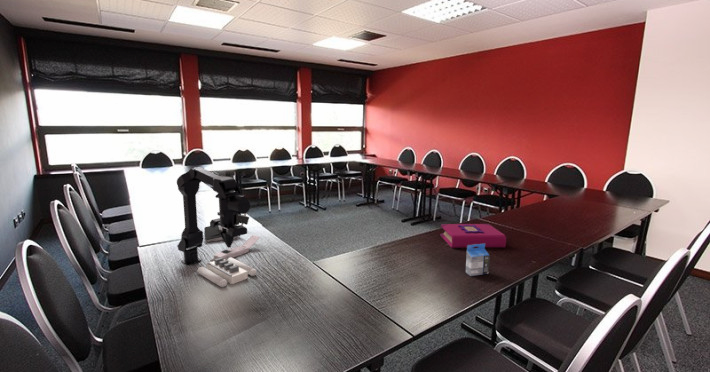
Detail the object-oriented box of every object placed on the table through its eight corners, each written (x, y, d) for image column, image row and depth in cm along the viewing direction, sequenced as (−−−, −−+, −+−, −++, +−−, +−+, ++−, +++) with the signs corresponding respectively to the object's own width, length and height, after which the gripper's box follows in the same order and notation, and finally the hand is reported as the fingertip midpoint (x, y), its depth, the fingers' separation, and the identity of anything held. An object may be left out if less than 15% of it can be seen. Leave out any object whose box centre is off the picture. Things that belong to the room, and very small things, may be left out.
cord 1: (197, 274, 139) (197, 267, 138) (204, 272, 141) (204, 265, 140) (221, 289, 126) (220, 282, 126) (228, 286, 128) (228, 279, 128)
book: (505, 248, 171) (507, 234, 170) (451, 249, 170) (452, 235, 168) (487, 235, 192) (489, 222, 190) (439, 235, 190) (440, 223, 189)
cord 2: (227, 264, 148) (226, 258, 148) (233, 262, 151) (233, 256, 150) (251, 278, 136) (251, 271, 135) (258, 275, 138) (257, 268, 138)
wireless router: (204, 228, 200) (201, 195, 196) (244, 223, 209) (243, 192, 206) (205, 246, 170) (202, 208, 166) (252, 240, 179) (250, 204, 176)
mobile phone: (261, 236, 168) (216, 251, 148) (261, 248, 169) (217, 264, 149) (253, 234, 171) (208, 248, 151) (253, 245, 172) (209, 261, 152)
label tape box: (470, 276, 138) (472, 248, 136) (464, 272, 142) (466, 244, 140) (488, 274, 140) (491, 246, 138) (482, 270, 144) (484, 243, 142)
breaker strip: (207, 269, 143) (206, 258, 142) (222, 264, 148) (222, 254, 147) (231, 284, 130) (230, 272, 129) (247, 278, 135) (247, 266, 134)
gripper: (258, 210, 132) (259, 247, 134) (233, 202, 143) (235, 236, 146) (232, 215, 123) (234, 255, 126) (208, 206, 135) (210, 243, 138)
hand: (229, 247), depth 134 cm, fingers closed
